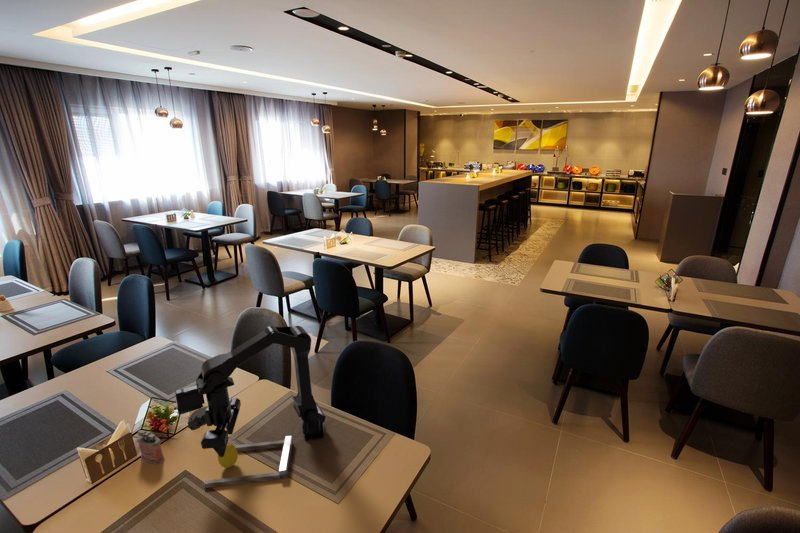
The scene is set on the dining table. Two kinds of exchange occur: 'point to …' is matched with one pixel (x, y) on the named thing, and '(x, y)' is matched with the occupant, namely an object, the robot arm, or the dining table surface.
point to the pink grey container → (150, 447)
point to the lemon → (228, 456)
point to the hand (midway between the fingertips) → (226, 444)
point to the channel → (259, 477)
